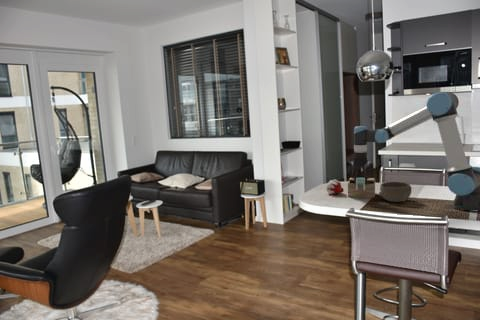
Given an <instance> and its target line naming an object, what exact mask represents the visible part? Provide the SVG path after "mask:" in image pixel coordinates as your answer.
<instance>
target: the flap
mask: <svg viewBox="0 0 480 320" xmlns="http://www.w3.org/2000/svg"><path fill="white" fill-rule="evenodd" d="M356 179H357V185H364V179H365V177H356ZM374 180H375V181H376V178H375V177H370V178H369V179H367V181H374ZM349 181H354V179H353V178H351V177H350V178H348V182H349Z"/></svg>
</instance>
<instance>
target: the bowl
mask: <svg viewBox="0 0 480 320" xmlns="http://www.w3.org/2000/svg"><path fill="white" fill-rule="evenodd" d="M412 189H413V188H412V187H411V185H410V183H408V182H402V181H401V182H400V181H389V182H387V181H386V182H382V183H380V187H379V192H378V194H379V196H380V197H382V198H383V200H385V201H386V202H390V203H402V202H405V201H407V200H408V199H409V198H410V196H411V195H412Z"/></svg>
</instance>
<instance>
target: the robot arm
mask: <svg viewBox="0 0 480 320" xmlns="http://www.w3.org/2000/svg"><path fill="white" fill-rule="evenodd" d="M458 107H459V99H458V96H457V95H456V94H455V93H453V92H451V91H438V92H435V93H433V94H432V95H430V96H429V98H428V99H427V101H426V106H424V107H422V108H420V109H418V110H416V111H415V112H413V113H410V114H408V115H407V116H404V117H403V118H401V119H399V120H396V121H395V122H393V123H391V124H389V125H387V126H385V127H382V128H380V129H379V128H378V129H368V126H364V125H362V126H361V125H360V126H359V125H357V126H355V127H354V128H353V143H354V144H353V151H354V152H353V160H352V161H349V163H348V165H349V167H350V178H353V179H354V184H356V190H358V185H357V179H356V178H358V177H357V176H358V171H359V168H361V169H362V171H363V176H364V177H363V178H365V179H364V190H365V184H366V185H367V179H369V178H371V171H372V170H371V169H372V167H371V166H372V164H373V162H372V161H369V159H368V143H379V144H381V143H386V142H387V141H390V140H391V139H394V137H397V136H398V135H401V134H403V133H405V132H407V131H409V130H411V129H413V128H415V127H417V126H419V125H421V124H424V123H426V122H427V121H430V120H432V121H433V122H435V124H437V129H438V131H439V136H440V138H441V143H442V146H443V149H444V155H445V157H446V162H447V164H448V169H447V170H446V173H447V177H448V179H447V188H448V189H449V191H450V192H451V193H452V194H454V195H455V196H454V199H453V201H452V208H453V207H455V208H458V209H463V210H480V166H472V165H471V164H469V163H468V161H467V158H466V153H465V152H466V151H465V150H464V146H463V142H462V137H461V135H460V131H459V127H458V123H457V119H456V117H457V116H458V111H457V108H458ZM354 165H355V166H356V167H355V171H354ZM366 165H368V166H367V167H368V168H367V169H368V170H367V171H366ZM455 208H454V209H455ZM458 209H457V210H458ZM463 210H462V211H463Z"/></svg>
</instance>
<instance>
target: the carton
mask: <svg viewBox="0 0 480 320" xmlns="http://www.w3.org/2000/svg"><path fill="white" fill-rule="evenodd" d="M375 196H376V179H375V180H374V181H367V185H366V184H365V190H364V185H358V190H356V184H354V181H349V180H348V182H347V198H363V199H365V198H367V199H369V198H370V199H375Z"/></svg>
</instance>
